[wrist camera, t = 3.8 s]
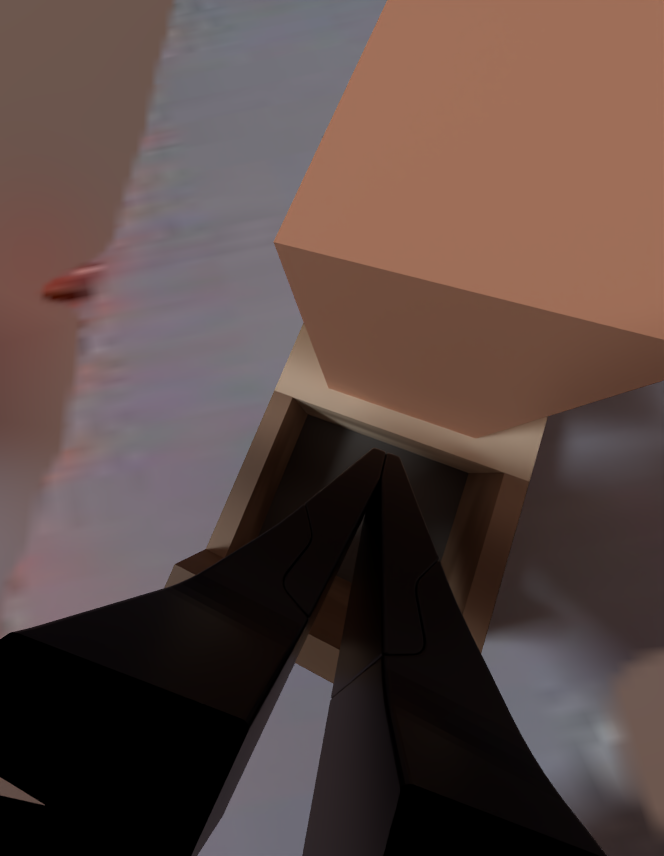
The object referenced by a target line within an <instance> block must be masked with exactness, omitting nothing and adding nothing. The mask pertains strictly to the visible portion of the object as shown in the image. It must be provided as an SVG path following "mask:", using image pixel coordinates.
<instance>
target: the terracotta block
mask: <svg viewBox="0 0 664 856" xmlns="http://www.w3.org/2000/svg"><path fill="white" fill-rule="evenodd" d="M274 244H275V247H276V249H277V252H278V255H279V257H280V260H281V263H282V265H283V268H284V271H285V274H286V276H287V279H288V282H289V284H290V287H291V290H292V292H293V295H294V298H295V300H296V303H297V306H298V308H299V311H300V314H301V316H302V319H303V322H304V324H305V327H306V330H307V332H308V335H309V338H310V340H311V343H312V346H313V348H314V351H315V354H316V356H317V359H318V362H319V364H320V367H321V370H322V372H323V375H324V378H325V380H326V383H327V386H328V388H329V389H332V390H335V391H338V392H341V393H344V394H347V395H350V396H353V397H356V398H359V399H362V400H364V401H367V402H370V403H373V404H376V405H379V406H382V407H385V408H388V409H391V410H394V411H397V412H400V413H402V414H405V415H408V416H411V417H414V418H417V419H420V420H423V421H426V422H429V423H432V424H435V425H437V426H440V427H443V428H446V429H449V430H452V431H455V432H458V433H461V434H464V435H467V436H470V437H473V438H475V439H476V438H479V437H482V436H486V435H489V434H492V433H495V432H498V431H502V430H505V429H508V428H511V427H515V426H518V425H521V424H524V423H528V422H531V421H534V420H537V419H540V418H544V417H547V416H550V415H553V414H557V413H560V412H563V411H566V410H570V409H573V408H576V407H579V406H583V405H586V404H589V403H592V402H595V401H599V400H602V399H605V398H608V397H612V396H615V395H618V394H621V393H625V392H628V391H631V390H634V389H637V388H641V387H644V386H647V385H650V384H654V383H657V382H660V381H663V380H664V0H387V2H386V4H385V6H384V9H383V11H382V13H381V15H380V17H379V19H378V21H377V23H376V26H375V28H374V30H373V32H372V34H371V36H370V38H369V40H368V43H367V45H366V47H365V49H364V51H363V53H362V55H361V57H360V60H359V62H358V64H357V66H356V68H355V70H354V72H353V74H352V77H351V79H350V81H349V83H348V85H347V87H346V89H345V91H344V94H343V96H342V98H341V100H340V102H339V104H338V106H337V108H336V111H335V113H334V115H333V117H332V119H331V121H330V123H329V125H328V128H327V130H326V132H325V134H324V136H323V138H322V140H321V142H320V145H319V147H318V149H317V151H316V153H315V155H314V157H313V159H312V162H311V164H310V166H309V168H308V170H307V172H306V174H305V176H304V179H303V181H302V183H301V185H300V187H299V189H298V191H297V193H296V196H295V198H294V200H293V202H292V204H291V206H290V208H289V210H288V213H287V215H286V217H285V219H284V221H283V223H282V225H281V228H280V230H279V232H278V234H277V236H276V238H275V240H274Z"/></svg>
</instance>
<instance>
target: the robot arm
mask: <svg viewBox="0 0 664 856" xmlns="http://www.w3.org/2000/svg"><path fill="white" fill-rule="evenodd" d="M363 517H364V519H363ZM362 519H363V524H362V529H361V535H360V540H359V546H358V551H357V557H356V562H355V568H354V573H353V579H352V584H351V590H350V595H349V601H348V606H347V612H346V617H345V623H344V629H343V634H342V640H341V645H340V651H339V656H338V662H337V667H336V673H335V678H334V684H333V689H332V695H331V698H332V699H331V700H330V706H329V711H328V717H327V722H326V728H325V733H324V739H323V744H322V750H321V755H320V761H319V766H318V772H317V777H316V783H315V789H314V794H313V800H312V805H311V811H310V816H309V822H308V827H307V833H306V838H305V844H304V849H303V855H302V856H607V855H606V854H605V853H604V851H603V850H602V849H601V848H600V846H599V845H598V844H597V842H596V841H595V840H594V839H593V837H592V836H591V835H590V834H589V832H588V831H587V830H586V828H585V827H584V826H583V825H582V823H581V822H580V821H579V819H578V818H577V817H576V816H575V814H574V813H573V812H572V810H571V809H570V808H569V807H568V805H567V804H566V803H565V801H564V800H563V799H562V797H561V796H560V795H559V793H558V792H557V791H556V789H555V788H554V786H553V785H552V784H551V782H550V781H549V779H548V778H547V776H546V775H545V773H544V772H543V770H542V769H541V767H540V766H539V764H538V762H537V761H536V759H535V758H534V756H533V755H532V753H531V751H530V749H529V748H528V746H527V744H526V742H525V741H524V739H523V737H522V735H521V734H520V732H519V730H518V728H517V726H516V724H515V722H514V720H513V718H512V716H511V714H510V712H509V710H508V708H507V706H506V704H505V702H504V700H503V698H502V696H501V694H500V691H499V689H498V687H497V685H496V683H495V681H494V679H493V677H492V675H491V673H490V671H489V669H488V667H487V665H486V663H485V661H484V659H483V657H482V655H481V653H480V651H479V649H478V647H477V645H476V642H475V640H474V638H473V636H472V634H471V632H470V630H469V628H468V626H467V624H466V621H465V619H464V617H463V615H462V613H461V611H460V609H459V606H458V604H457V602H456V600H455V597H454V595H453V592H452V590H451V588H450V585H449V583H448V580H447V578H446V575H445V573H444V570H443V567H442V565H441V562H440V561H438V560H439V557H438V555H437V552H436V550H435V547H434V544H433V542H432V539H431V537H430V534H429V531H428V529H427V526H426V524H425V521H424V518H423V516H422V513H421V511H420V508H419V505H418V503H417V500H416V498H415V495H414V492H413V490H412V487H411V485H410V482H409V479H408V477H407V474H406V472H405V469H404V466H403V464H402V461H401V459H400V457H399V456H396V455H394V454H391V453H387V454H386V452H385V451H383V450H380V449H377V448H372V449H371V450H370V451H369V452H367V453H366V454H365V455H364V456H362V457H361V458H360V459H359V460H357V461H356V462H355V463H354V464H353V465H351V466H350V467H349V468H348V469H346V470H345V471H344V472H343V473H341V474H340V475H339V476H338V477H336V478H335V479H334V480H333V481H331V482H330V483H329V484H328V485H327V486H325V487H324V488H323V489H322V490H320V491H319V492H318V493H317V494H315V495H314V496H313V497H312V498H310V499H309V500H308V501H307V502H305V505H302V506H300V507H299V508H298V509H297V510H295V511H294V512H293V513H292V514H290V515H289V516H288V517H286V518H285V519H284V520H282V521H281V522H280V523H278V524H277V525H275V526H274V527H272V528H271V529H269V530H268V531H266V532H265V533H263V534H262V535H260V536H259V537H257V538H255V539H254V540H252V541H251V542H249V543H247V544H246V545H244V546H243V547H241V548H239V549H238V550H236V551H234V552H233V553H231V554H230V555H228V556H226V557H225V558H223V559H222V560H220V561H218V562H217V563H215V564H213V565H212V566H210V567H209V568H207V569H205V570H204V571H202V572H200V573H198V574H196V575H195V576H193V577H191V578H189V579H187V580H184V581H182V582H180V583H178V584H175V585H172V586H170V587H167V588H164V589H161V590H157V591H154V592H150V593H147V594H144V595H140V596H137V597H134V598H130V599H127V600H123V601H120V602H117V603H113V604H110V605H106V606H103V607H100V608H96V609H93V610H90V611H86V612H83V613H79V614H76V615H73V616H69V617H66V618H62V619H59V620H56V621H52V622H49V623H46V624H42V625H39V626H35V627H32V628H28V629H24V630H20V631H15V632H11V633H9V634H7V635H6V636H4V637H3V638H2V639H0V856H197V855H198V854H199V852H200V851H201V849H202V847H203V846H204V844H205V843H206V841H207V840H208V838H209V836H210V835H211V833H212V832H213V830H214V829H215V827H216V826H217V824H218V822H219V821H220V819H221V818H222V816H223V814H224V812H225V810H226V808H227V805H228V803H229V801H230V799H231V797H232V795H233V793H234V791H235V788H236V786H237V784H238V782H239V780H240V778H241V776H242V774H243V772H244V769H245V767H246V765H247V763H248V761H249V759H250V757H251V755H252V752H253V750H254V748H255V746H256V744H257V742H258V740H259V738H260V736H261V733H262V731H263V729H264V727H265V725H266V723H267V721H268V719H269V717H270V714H271V712H272V710H273V708H274V706H275V704H276V702H277V700H278V698H279V695H280V693H281V691H282V689H283V687H284V685H285V683H286V681H287V678H288V676H289V674H290V672H291V670H292V668H293V666H294V664H295V662H296V659H297V657H298V655H299V653H300V651H301V649H302V647H303V645H304V642H305V640H306V638H307V636H308V634H309V632H310V630H311V628H312V626H313V623H314V621H315V619H316V617H317V615H318V613H319V611H320V609H321V607H322V604H323V602H324V600H325V598H326V596H327V594H328V592H329V590H330V588H331V585H332V583H333V581H334V579H335V577H336V575H337V573H338V571H339V568H340V566H341V564H342V562H343V560H344V558H345V556H346V554H347V552H348V549H349V547H350V545H351V543H352V541H353V539H354V537H355V535H356V533H357V530H358V528H359V526H360V524H361V522H362Z"/></svg>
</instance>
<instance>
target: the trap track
mask: <svg viewBox="0 0 664 856" xmlns="http://www.w3.org/2000/svg"><path fill="white" fill-rule="evenodd" d="M547 417H548V416H547ZM547 417H544V418H540V419H537V420H534V421H531V422H528V423H524V424H521V425H518V426H515V427H511V428H508V429H505V430H502V431H498V432H495V433H492V434H489V435H486V436H482V437H479V438H476V439H475V438H473V437H470V436H467V435H464V434H461V433H458V432H455V431H452V430H449V429H446V428H443V427H440V426H437V425H435V424H432V423H429V422H426V421H423V420H420V419H417V418H414V417H411V416H408V415H405V414H402V413H400V412H397V411H394V410H391V409H388V408H385V407H382V406H379V405H376V404H373V403H370V402H367V401H364V400H362V399H359V398H356V397H353V396H350V395H347V394H344V393H341V392H338V391H335V390H332V389H329V388H328V386H327V383H326V380H325V378H324V375H323V372H322V370H321V367H320V364H319V362H318V359H317V356H316V354H315V351H314V348H313V346H312V343H311V340H310V338H309V335H308V332H307V330H306V327H305V324H304V323H303V326H302V328H301V330H300V333H299V335H298V337H297V340H296V342H295V344H294V347H293V349H292V351H291V353H290V356H289V358H288V360H287V363H286V365H285V367H284V370H283V372H282V374H281V377H280V379H279V381H278V384H277V386H276V388H275V390H274V393H273V395H272V397H271V400H270V402H269V404H268V407H267V409H266V411H265V414H264V416H263V418H262V421H261V423H260V425H259V427H258V430H257V432H256V434H255V437H254V439H253V441H252V444H251V446H250V448H249V451H248V453H247V455H246V458H245V460H244V462H243V464H242V467H241V469H240V471H239V474H238V476H237V478H236V481H235V483H234V485H233V488H232V490H231V492H230V495H229V497H228V499H227V501H226V504H225V506H224V508H223V511H222V513H221V515H220V518H219V520H218V522H217V525H216V527H215V529H214V532H213V534H212V536H211V538H210V541H209V543H208V545H207V548H206V549H205V550H203V551H201V552H199V553H197V554H195V555H193V556H191V557H189V558H187V559H185V560H183V561H180V562H178V563H176V564H175V565H174V567H173V569H172V572H171V574H170V576H169V578H168V581H167V583H166V585H165V587H164V588H167V587H170V586H172V585H175V584H178V583H180V582H182V581H184V580H187V579H189V578H191V577H193V576H195V575H196V574H198V573H200V572H202V571H204V570H205V569H207V568H209V567H210V566H212V565H213V564H215V563H217V562H218V561H220V560H222V559H223V558H225V557H226V556H228V555H230V554H231V553H233V552H234V551H236V550H238V549H239V548H241V547H243V546H244V545H246V544H247V543H249V542H251V541H252V540H254V539H255V538H257V537H259V536H260V535H262V534H263V533H265V532H266V531H268V530H269V529H271V528H272V527H274V526H275V525H277V524H278V523H280V522H281V521H282V520H284V519H285V518H286V517H288V516H289V515H290V514H292V513H293V512H294V511H295V510H297V509H298V508H299V507H300V506H302V505H305V502H307V501H308V500H309V499H310V498H312V497H313V496H314V495H315V494H317V493H318V492H319V491H320V490H322V489H323V488H324V487H325V486H327V485H328V484H329V483H330V482H331V481H333V480H334V479H335V478H336V477H338V476H339V475H340V474H341V473H343V472H344V471H345V470H346V469H348V468H349V467H350V466H351V465H353V464H354V463H355V462H356V461H357V460H359V459H360V458H361V457H362V456H364V455H365V454H366V453H367V452H369V451H370V450H371V449H372V448H377V449H380V450H383V451H385V452H386V454H387V453H391V454H394V455H396V456H399V457H400V459H401V461H402V464H403V466H404V469H405V472H406V474H407V477H408V479H409V482H410V485H411V487H412V490H413V492H414V495H415V498H416V500H417V503H418V505H419V508H420V511H421V513H422V516H423V518H424V521H425V524H426V526H427V529H428V531H429V534H430V537H431V539H432V542H433V544H434V547H435V550H436V552H437V555H438V557H439V560H438V561H440V562H441V565H442V567H443V570H444V573H445V575H446V578H447V580H448V583H449V585H450V588H451V590H452V592H453V595H454V597H455V600H456V602H457V604H458V606H459V609H460V611H461V613H462V615H463V617H464V619H465V621H466V624H467V626H468V628H469V630H470V632H471V634H472V636H473V638H474V640H475V642H476V645H477V647H478V649H479V651H480V653H481V652H482V649H483V645H484V642H485V638H486V634H487V631H488V627H489V624H490V620H491V617H492V613H493V610H494V606H495V602H496V599H497V595H498V592H499V588H500V585H501V581H502V578H503V574H504V570H505V567H506V563H507V560H508V556H509V553H510V549H511V545H512V542H513V538H514V535H515V531H516V528H517V524H518V521H519V517H520V513H521V510H522V506H523V503H524V499H525V496H526V492H527V489H528V485H529V481H530V478H531V474H532V471H533V467H534V464H535V460H536V457H537V453H538V449H539V446H540V442H541V439H542V435H543V432H544V428H545V425H546V421H547ZM363 519H364V517H363ZM363 519H362V522H361V524H360V526H359V528H358V530H357V533H356V535H355V537H354V539H353V541H352V543H351V545H350V547H349V549H348V552H347V554H346V556H345V558H344V560H343V562H342V564H341V566H340V568H339V571H338V573H337V575H336V577H335V579H334V581H333V583H332V585H331V588H330V590H329V592H328V594H327V596H326V598H325V600H324V602H323V604H322V607H321V609H320V611H319V613H318V615H317V617H316V619H315V621H314V623H313V626H312V628H311V630H310V632H309V634H308V636H307V638H306V640H305V642H304V645H303V647H302V649H301V651H300V653H299V655H298V657H297V659H296V662H295V663H297V664H298V665H300V666H302V667H304V668H306V669H308V670H309V671H311V672H313V673H315V674H317V675H319V676H320V677H322V678H324V679H326V680H328V681H330V682H331V683H333V684H334V678H335V673H336V667H337V662H338V656H339V651H340V645H341V640H342V634H343V629H344V623H345V617H346V612H347V606H348V601H349V595H350V590H351V584H352V579H353V573H354V568H355V562H356V557H357V551H358V546H359V540H360V535H361V529H362V524H363Z"/></svg>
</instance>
